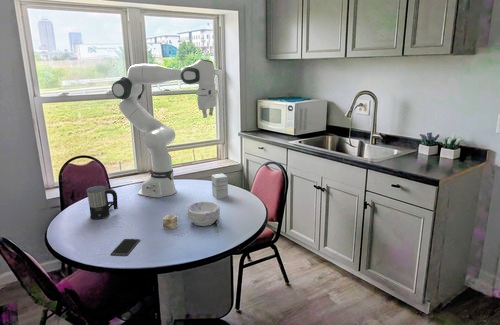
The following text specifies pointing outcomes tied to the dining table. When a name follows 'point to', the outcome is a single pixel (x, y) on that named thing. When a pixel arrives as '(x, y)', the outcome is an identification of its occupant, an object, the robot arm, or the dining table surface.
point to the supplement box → (219, 186)
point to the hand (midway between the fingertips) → (208, 116)
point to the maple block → (170, 222)
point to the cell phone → (125, 247)
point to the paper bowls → (203, 213)
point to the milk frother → (100, 201)
